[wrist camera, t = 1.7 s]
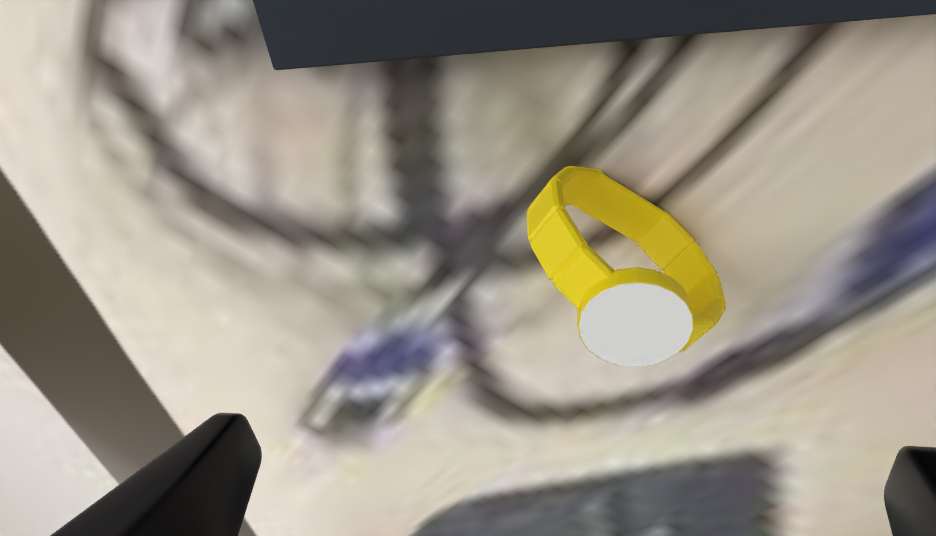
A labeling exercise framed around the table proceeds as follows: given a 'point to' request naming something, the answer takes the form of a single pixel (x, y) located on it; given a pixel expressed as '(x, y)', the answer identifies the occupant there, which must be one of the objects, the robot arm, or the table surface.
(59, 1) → the table surface
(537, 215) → the watch
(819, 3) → the dark rectangular board
